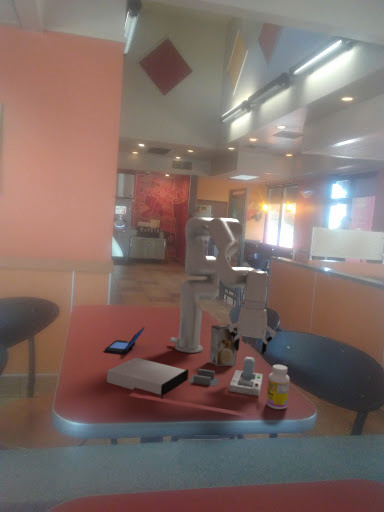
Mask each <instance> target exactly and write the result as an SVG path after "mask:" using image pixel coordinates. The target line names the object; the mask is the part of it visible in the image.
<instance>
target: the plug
mask: <svg viewBox="0 0 384 512" xmlns="http://www.w3.org/2000/svg"><path fill="white" fill-rule="evenodd" d="M255 360H256V359H255V358H254V357H252V356H246V357H244V360H243V368H242V369H243V370H242V371H243V378H250V379H253V374H254V373H255V362H256V361H255Z"/></svg>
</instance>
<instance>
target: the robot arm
mask: <svg viewBox="0 0 384 512" xmlns="http://www.w3.org/2000/svg"><path fill="white" fill-rule="evenodd" d="M242 234H243V226H242V224H241V222H240V221H239V220H238V219H235V218H230V217H229V218H228V217H209V216H194V217H190V218H189V219H188V220H187V221H186V223H185V227H184V236H185V241H186V242H185V244H186V246H185V247H186V248H185V260H184V261H185V264H184V270H185V274H186V275H188V276H189V277H197V278H198V277H201V278H202V277H203V278H204V279H199V278H198V279H197V278H196V279H195V278H192V279H186V280H184V281H183V282H181V284H180V286H179V294H180V295H179V296H180V316H179V328H178V329H179V330H178V331H179V332H178V337H174V336H173V337H172V336H171V337H169V342H170V343H171V344H172V343H173V344H175V345H174V350H176V351H179V352H182V353H187V354H189V353H190V354H193V353H200V352H202V351H203V346H202V345H201V344H200V341H201V328H202V314H203V313H202V312H203V310H202V307H201V306H200V304H199V302H200V301H212V300H215V298H217V296H218V292H219V280H220V281H221V283H222V284H223V285H224V286H225V287H227V288H244V297H243V299H240V300H239V304H240V305H243V306H241V307H240V311H239V314H238V321H237V322H235V323H233V324H229V325H230V326H229V327H228V328H229V331H230V332H231V335H232V336H233V337H234V339H235V348H236V351H237V352H238V351H239V350H240V341H241V340H240V337H241V336H243V337H246V338H247V337H248V338H255V339H261V340H262V346H261V355H263V356H264V355H265V353H266V352H267V345H268V344H269V343H270V342H271V341H272V340H274V337H275V336H276V335H277V332H276V331H275V330H274V329H272V328H271V327H270V326H268V325H267V324H268V315H267V313H268V312H267V309H266V308H265V307H266V296H267V287H268V286H267V285H268V273H267V272H266V271H264V270H259V269H255V268H254V267H249V266H246V267H245V266H231V264H230V262H229V260H228V258H230V257H232V256H233V255H235V254H236V253H237V252H238V251H239V249H240V243H239V241H238V240H237V239H239V238H240V237H241V236H242ZM203 237H204V238H211V239H212V241H213V244H214V245H215V248H216V249H217V251H218V253H217V255H216V257H215V256H213V255H206V244H205V241H204V239H203ZM235 327H237V334H236V333H235V332H234V330H233V328H235ZM267 332H268V333H270V335H269V336H268V337H267Z"/></svg>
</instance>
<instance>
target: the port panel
mask: <svg viewBox="0 0 384 512" xmlns="http://www.w3.org/2000/svg"><path fill="white" fill-rule="evenodd" d="M263 377H264V376H263V373H257V372H254V374H253V379H250V378H243V370H238V369H236V370H235V371H234V374H233V376H232V379H231V381H230V384H229V389H228V392H231V393H232V392H234V393H237V394H243V395H244V394H245V395H251V396H256V397H258V400H259V398H260V393H261V390H262V385H263Z"/></svg>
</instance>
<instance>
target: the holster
mask: <svg viewBox="0 0 384 512" xmlns="http://www.w3.org/2000/svg"><path fill="white" fill-rule="evenodd" d="M215 373H216V371H215V370H211V369H210V370H209V369H204V368H198V369H197V374H195V373H194V374H192V375H191V376H190V378H188V380H187V383H192V384H197V385H204V386H209V387H217V384H218V383H219V380H220V378H218V377H215Z"/></svg>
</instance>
